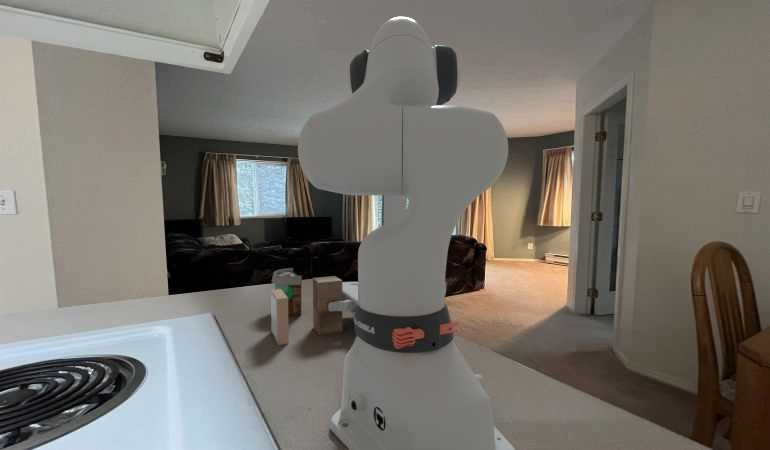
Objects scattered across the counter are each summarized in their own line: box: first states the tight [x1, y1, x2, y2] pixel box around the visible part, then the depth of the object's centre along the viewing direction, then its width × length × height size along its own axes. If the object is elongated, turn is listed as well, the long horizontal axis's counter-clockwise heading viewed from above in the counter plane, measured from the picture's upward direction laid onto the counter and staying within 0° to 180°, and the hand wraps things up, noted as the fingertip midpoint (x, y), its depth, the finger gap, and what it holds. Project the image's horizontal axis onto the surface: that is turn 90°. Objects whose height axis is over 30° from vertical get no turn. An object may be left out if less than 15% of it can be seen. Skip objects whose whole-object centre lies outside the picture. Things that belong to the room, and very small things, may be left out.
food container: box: [271, 267, 303, 317], centre depth 88 cm, size 12×6×10 cm, turn 25°
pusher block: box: [312, 275, 343, 336], centre depth 75 cm, size 5×5×11 cm
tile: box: [270, 289, 290, 346], centre depth 71 cm, size 8×2×9 cm, turn 26°
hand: (323, 302), depth 75 cm, fingers closed on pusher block, 5 cm apart
